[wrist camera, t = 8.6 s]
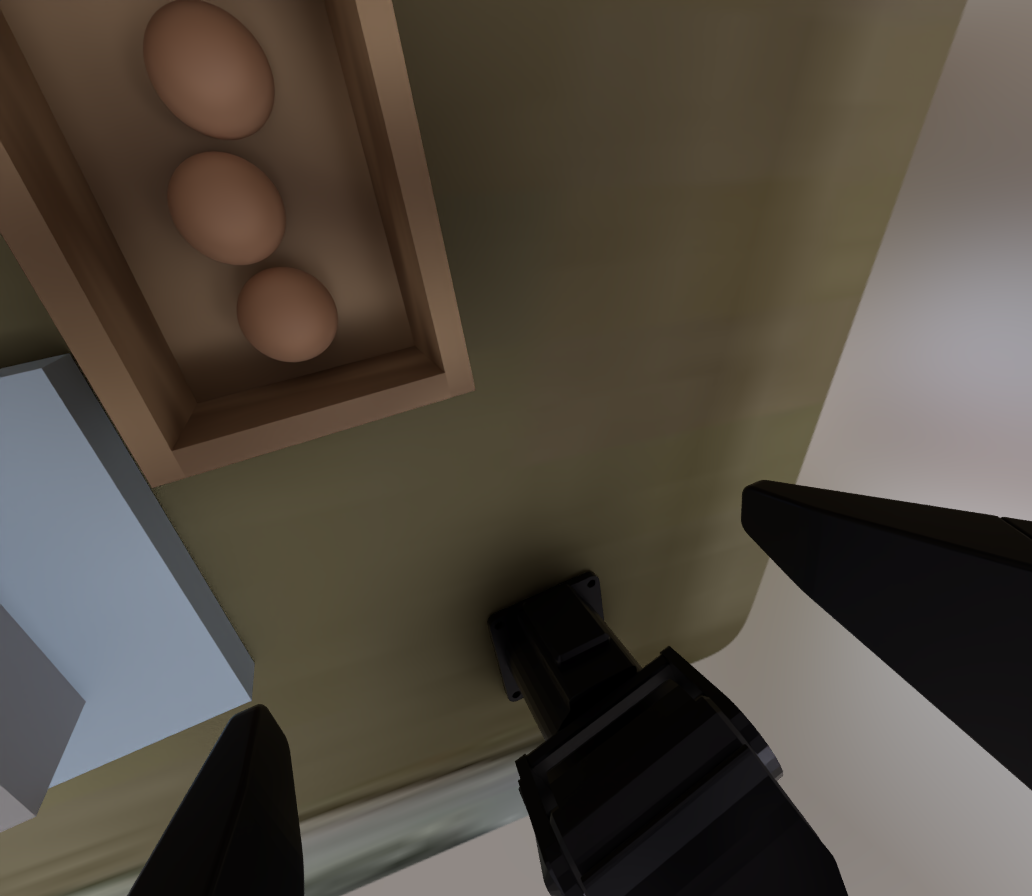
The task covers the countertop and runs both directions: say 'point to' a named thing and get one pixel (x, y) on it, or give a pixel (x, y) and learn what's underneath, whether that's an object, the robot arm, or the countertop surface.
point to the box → (227, 218)
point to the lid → (92, 598)
